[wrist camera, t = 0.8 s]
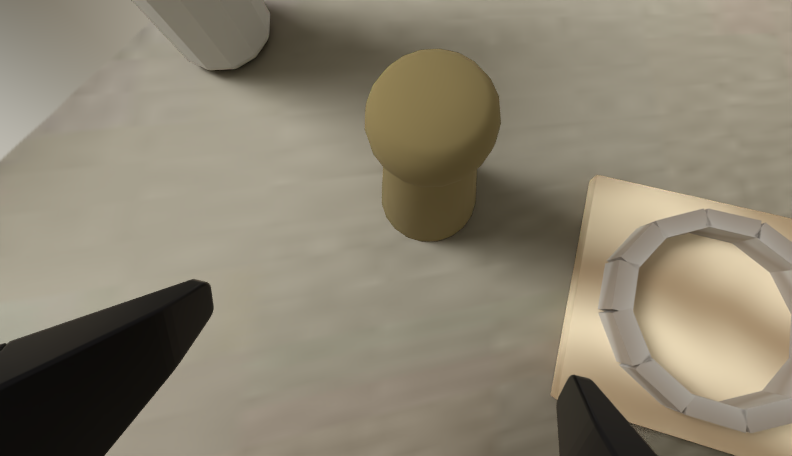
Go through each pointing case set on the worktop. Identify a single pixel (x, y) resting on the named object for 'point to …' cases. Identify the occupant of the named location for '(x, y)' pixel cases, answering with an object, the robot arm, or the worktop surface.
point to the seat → (684, 316)
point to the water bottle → (211, 29)
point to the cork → (431, 139)
